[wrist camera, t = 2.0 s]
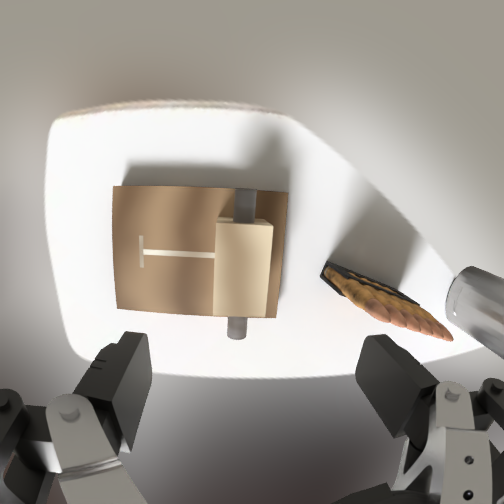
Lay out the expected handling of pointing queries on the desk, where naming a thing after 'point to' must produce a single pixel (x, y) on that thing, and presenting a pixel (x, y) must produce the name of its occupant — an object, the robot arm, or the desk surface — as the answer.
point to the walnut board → (181, 246)
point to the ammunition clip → (383, 301)
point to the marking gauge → (241, 264)
